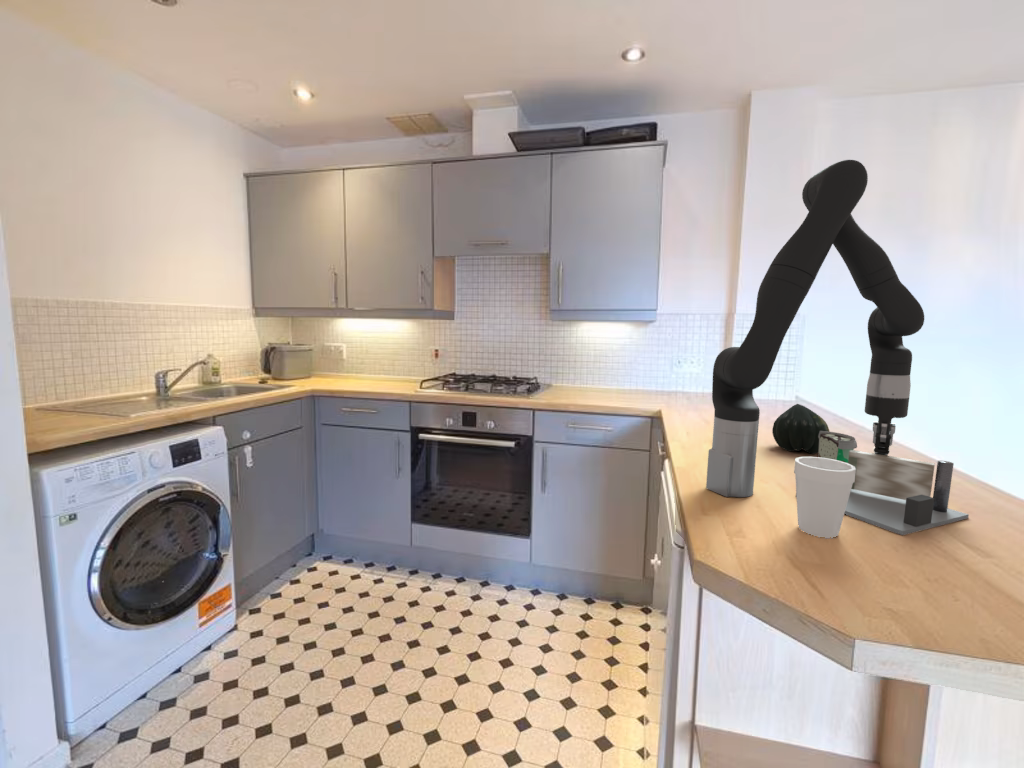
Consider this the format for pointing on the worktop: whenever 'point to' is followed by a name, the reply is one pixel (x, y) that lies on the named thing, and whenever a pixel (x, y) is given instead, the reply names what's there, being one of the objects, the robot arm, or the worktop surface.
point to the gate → (891, 475)
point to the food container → (835, 445)
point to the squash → (799, 429)
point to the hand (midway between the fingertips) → (879, 469)
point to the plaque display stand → (907, 507)
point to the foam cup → (822, 494)
